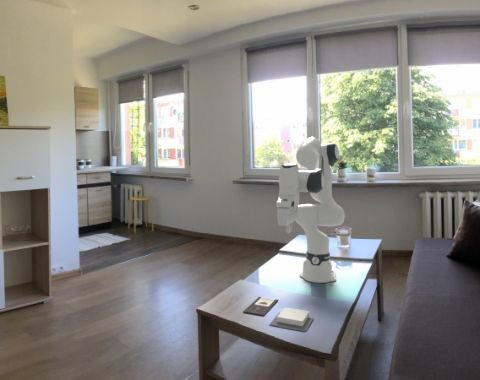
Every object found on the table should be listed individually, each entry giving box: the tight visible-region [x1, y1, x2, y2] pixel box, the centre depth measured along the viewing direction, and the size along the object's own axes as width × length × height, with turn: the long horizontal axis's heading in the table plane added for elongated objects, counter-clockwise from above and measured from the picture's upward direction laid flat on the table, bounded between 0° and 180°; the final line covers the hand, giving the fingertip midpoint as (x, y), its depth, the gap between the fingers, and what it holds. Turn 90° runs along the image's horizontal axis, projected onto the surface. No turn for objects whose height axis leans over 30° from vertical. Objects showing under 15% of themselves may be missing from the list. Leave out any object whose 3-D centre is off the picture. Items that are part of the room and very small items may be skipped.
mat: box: [269, 312, 314, 333], centre depth 146 cm, size 12×14×1 cm
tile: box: [276, 307, 310, 326], centre depth 148 cm, size 2×10×10 cm
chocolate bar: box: [242, 296, 279, 317], centre depth 162 cm, size 9×1×18 cm
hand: (288, 232), depth 166 cm, fingers closed
